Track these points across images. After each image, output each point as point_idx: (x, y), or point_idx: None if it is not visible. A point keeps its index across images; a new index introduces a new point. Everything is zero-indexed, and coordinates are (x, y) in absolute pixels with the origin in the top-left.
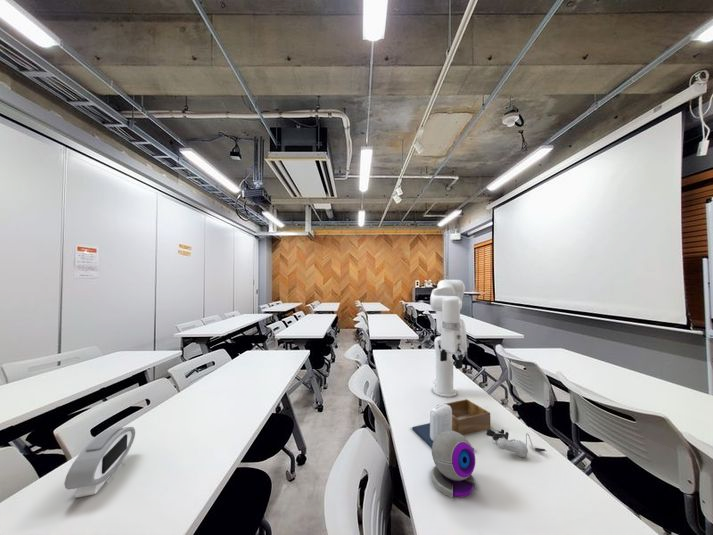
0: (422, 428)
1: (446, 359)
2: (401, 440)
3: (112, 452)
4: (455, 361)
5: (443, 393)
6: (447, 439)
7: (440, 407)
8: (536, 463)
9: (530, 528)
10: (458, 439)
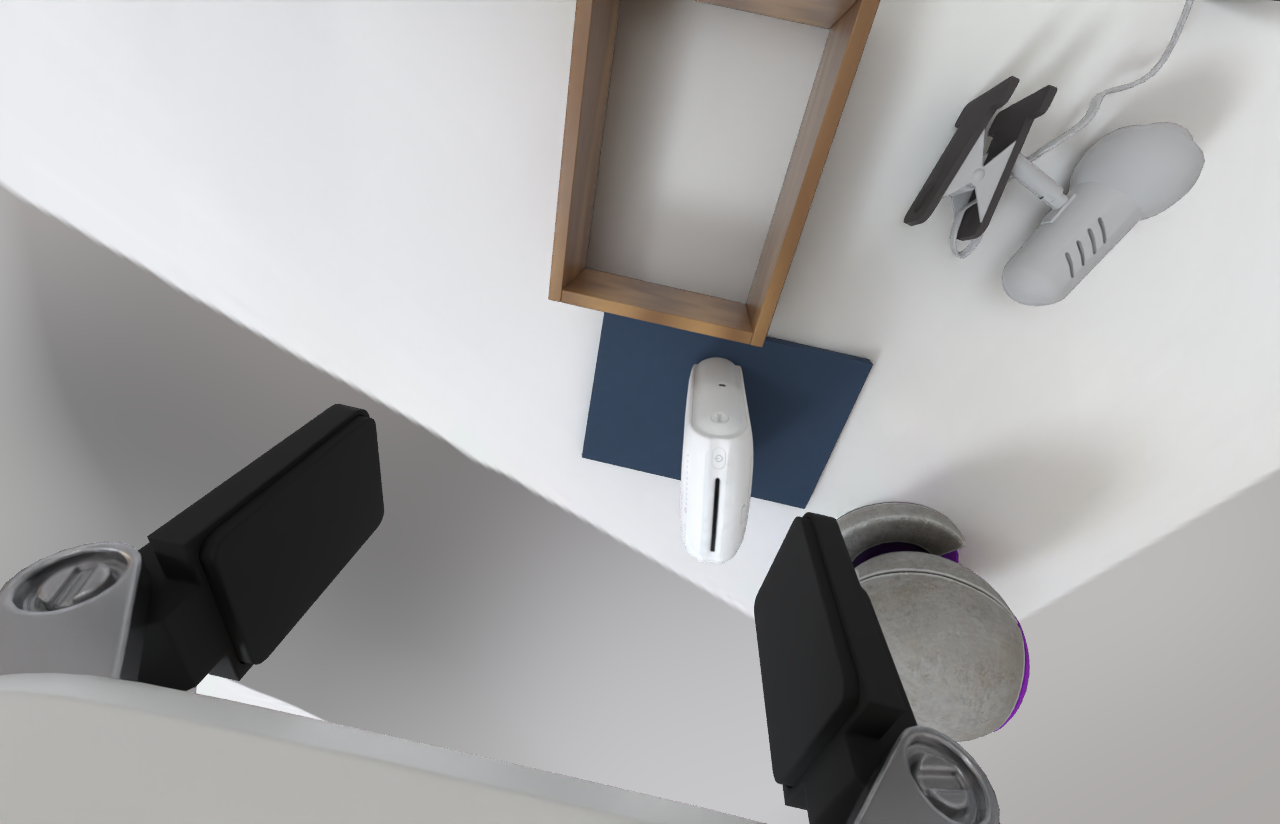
0: (614, 430)
1: (359, 435)
2: (623, 531)
3: None
4: (778, 740)
5: None
6: None
7: (726, 533)
8: None
9: (1154, 541)
10: (992, 727)
